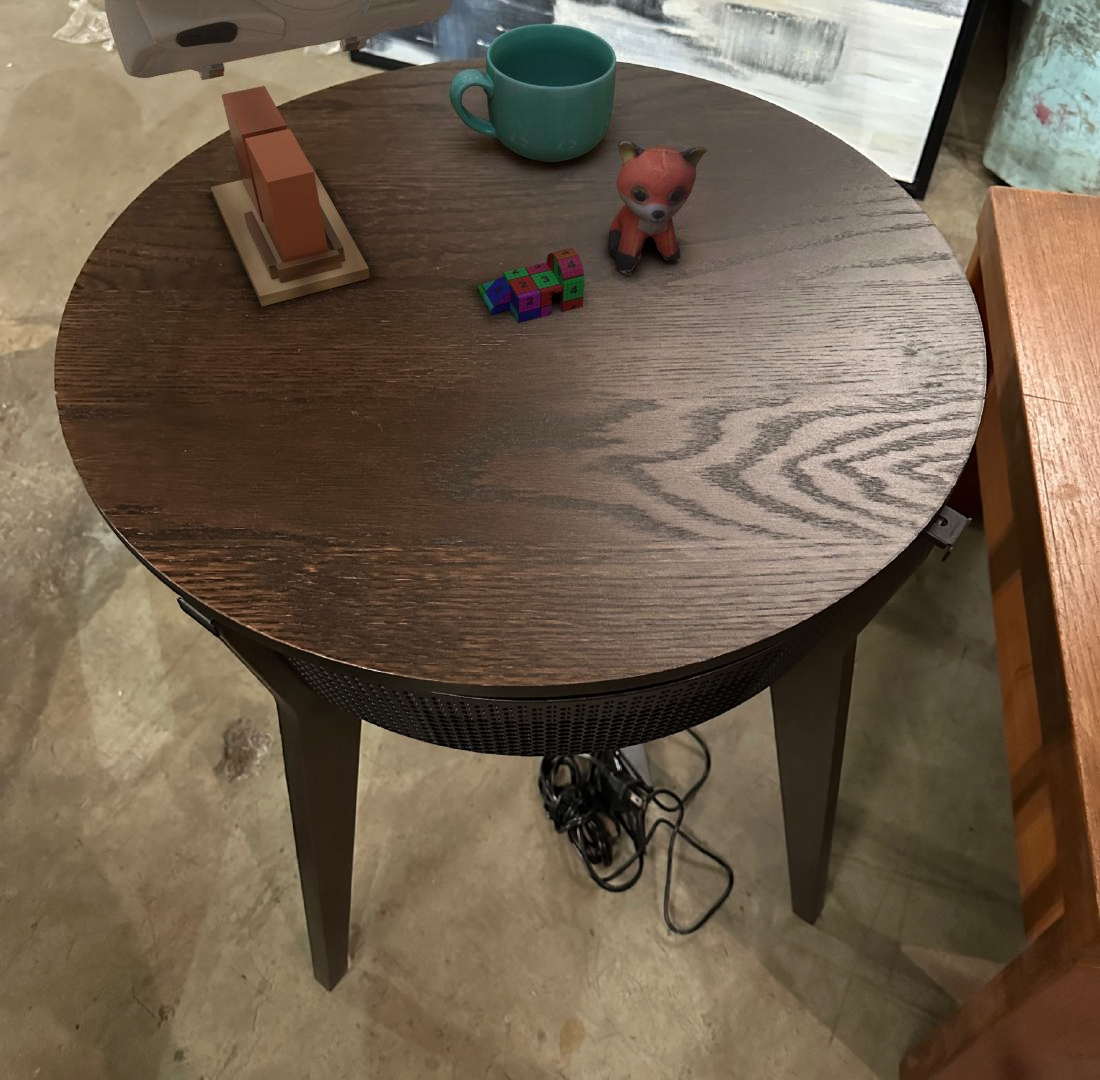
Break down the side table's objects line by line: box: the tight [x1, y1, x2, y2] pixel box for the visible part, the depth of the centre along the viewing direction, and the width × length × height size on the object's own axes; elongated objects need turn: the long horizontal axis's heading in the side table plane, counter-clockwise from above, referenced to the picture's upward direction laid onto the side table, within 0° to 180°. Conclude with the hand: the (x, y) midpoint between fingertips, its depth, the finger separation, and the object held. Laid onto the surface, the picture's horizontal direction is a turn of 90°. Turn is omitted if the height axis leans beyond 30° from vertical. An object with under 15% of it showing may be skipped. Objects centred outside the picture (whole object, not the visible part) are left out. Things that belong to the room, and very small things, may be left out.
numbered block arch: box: [476, 247, 585, 324], centre depth 90 cm, size 8×5×4 cm
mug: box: [448, 23, 617, 163], centre depth 103 cm, size 17×13×10 cm
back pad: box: [245, 128, 328, 263], centre depth 90 cm, size 4×7×9 cm, turn 25°
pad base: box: [210, 85, 371, 307], centre depth 93 cm, size 10×18×10 cm, turn 25°
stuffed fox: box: [607, 140, 709, 277], centre depth 92 cm, size 8×11×12 cm
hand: (280, 52), depth 67 cm, fingers open, 8 cm apart
